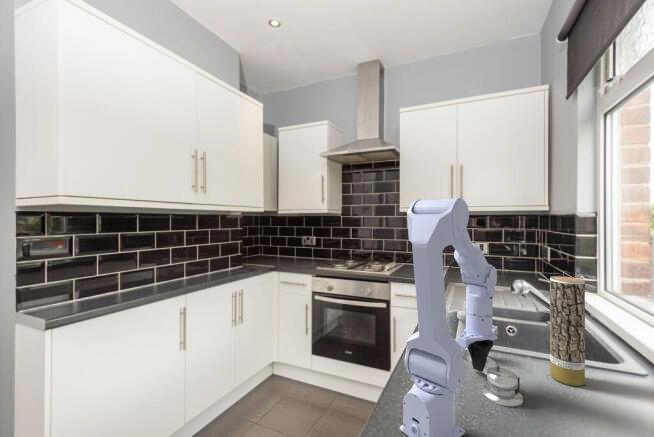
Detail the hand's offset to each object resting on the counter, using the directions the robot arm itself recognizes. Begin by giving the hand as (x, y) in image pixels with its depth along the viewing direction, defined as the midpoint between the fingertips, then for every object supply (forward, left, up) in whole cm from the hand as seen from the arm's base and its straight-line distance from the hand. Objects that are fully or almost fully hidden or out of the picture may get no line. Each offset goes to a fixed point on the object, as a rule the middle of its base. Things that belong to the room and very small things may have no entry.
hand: (478, 369), depth 74 cm
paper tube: (+20, -11, -4) cm, 24 cm away
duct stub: (0, -5, -4) cm, 7 cm away
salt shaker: (+12, +11, -4) cm, 17 cm away
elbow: (+2, -1, -1) cm, 3 cm away
